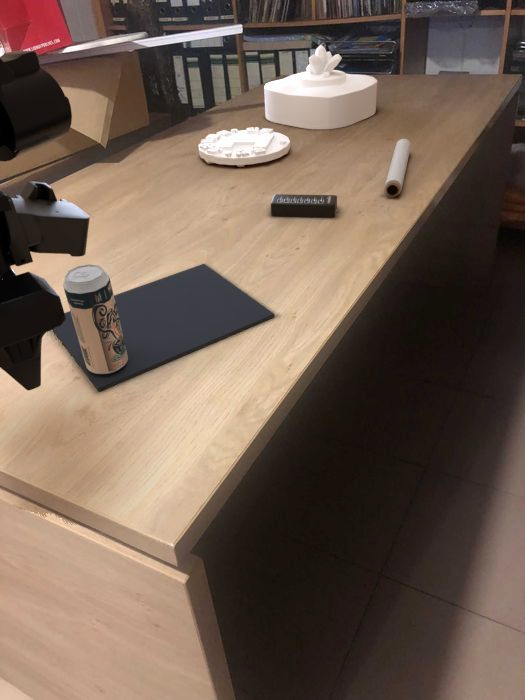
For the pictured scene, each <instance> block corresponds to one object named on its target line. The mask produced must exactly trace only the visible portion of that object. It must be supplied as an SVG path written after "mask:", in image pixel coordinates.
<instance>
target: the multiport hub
mask: <svg viewBox="0 0 525 700" xmlns="http://www.w3.org/2000/svg"><path fill="white" fill-rule="evenodd" d="M271 199H272V200H271V202H270V216H271V217H276V218H277V217H280V218H281V217H282V218H316V219H317V218H318V219H319V218H323V219H334V218H336V214H337V211H338V196H337V195H335V194H334V195H333V194H287V193H286V194H284V193H283V194H281V193H277V194H274V195H273V197H272V198H271Z"/></svg>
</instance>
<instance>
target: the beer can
mask: <svg viewBox="0 0 525 700" xmlns="http://www.w3.org/2000/svg"><path fill="white" fill-rule="evenodd" d="M62 287H63V290H64V294H65V297H66V301H67V305H68V308H69V311H70V312H71V315H72V318H73V322H74V325H75V329H76V332H77V336H78V339H79V343H80V346H81V350H82V353H83V357H84V360H85V364H86V367H87V369H88V370H89V371H91V372H93V373H96V374H109V373H113V372H115V371H117V370H119V369H120V368H122V367H123V366H124V365H125V364H126V362H127V360H128V355H127V351H126V346H125V342H124V338H123V333H122V329H121V325H120V320H119V316H118V312H117V308H116V303H115V299H114V295H115V294H114V291H113V286H112V282H111V278H110V275H109V274H108V273H107V272H105V270H104V268H102V267H101V266H100V264H99V265H98V264H90V263H89V264H83V265H78V266H76V267H73V268H72V269H70V270H68V271H67V272H66V274H65V276H64V281H63V285H62Z"/></svg>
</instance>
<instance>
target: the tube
mask: <svg viewBox="0 0 525 700" xmlns="http://www.w3.org/2000/svg"><path fill="white" fill-rule="evenodd" d="M411 149H412V144H411V141H410V140H409V139H407V138H401V139H399V140H398V141H397V142H396V144H395V148H394V151H393V154H392V159H391V162H390V166H389V169H388V173H387V177H386V181H385V183H384V192H385V193H386V195H387V196H389V197H391V198H393V197H397V196H398V195H399V194H401V193H402V189H403V185H404V181H405V176H406V171H407V166H408V162H409V158H410V153H411Z"/></svg>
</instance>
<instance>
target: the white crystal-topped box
mask: <svg viewBox="0 0 525 700" xmlns="http://www.w3.org/2000/svg"><path fill="white" fill-rule="evenodd" d="M314 51H315V52H314V53H313V54H312V55H310V56H309V57H308V63H309V64H308V65H307V67H306V68H305V69H306V70H305V71H301V72H297V73H294V74H291V75H288V76H286V77H284V78H281V79H275V80H272V81H269V82H267V83H265V85H264V87H263V91H264V92H263V93H264V94H263V95H264V112H265V113H264V114H265V115H264V116H265V119H266V120H267V121H269V122H271V123H275V124H278V125H283V126H284V125H285V126H290V127H294V128H299V129H305V130H318V131H319V130H335V129H341V128H345V127H348V126H352V125H354V124H357V123H359V122H361V121H363V120H366V119H368V118H370V117H373V116H374V115H375V114H376V111H377V94H378V79H377V78H375V77H374V76H372V75H368V74H358V73H357V74H354V73H346V72H344V71H343V70H338V69H335V68H336V67H337V66H338V65H339V63H340V62H341V60H342V59H343V57H342V56H341V55H340V54H339V53H337V54H334V55H332V53H331V51H330V50H329V51H327V50H326V48H325V47H324V46H323V44H320V45H318V46H317V47H316V49H315V50H314Z"/></svg>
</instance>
